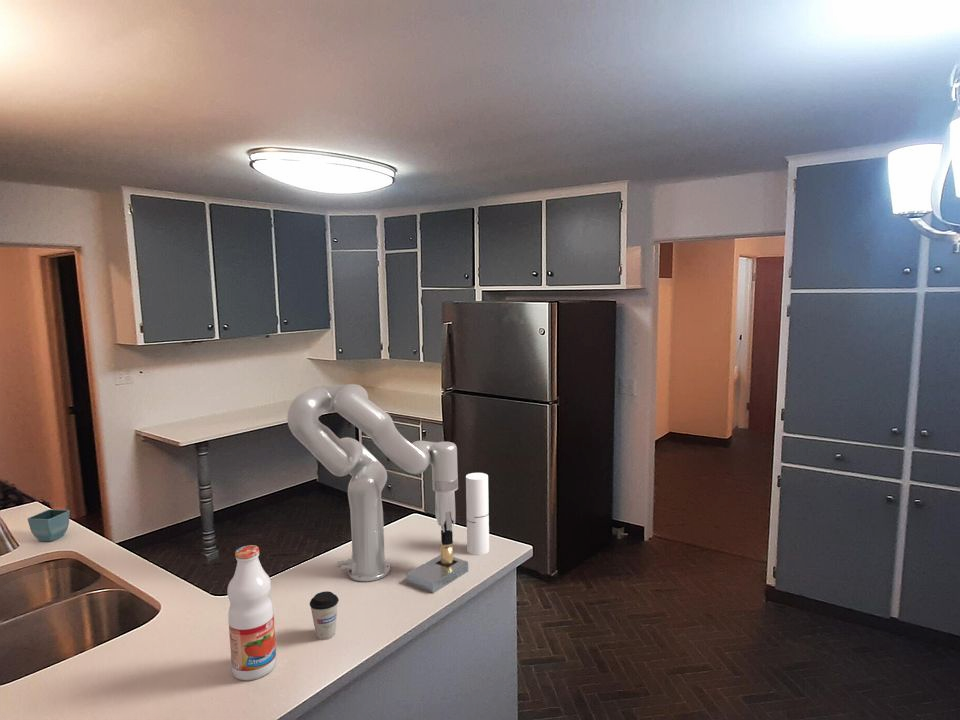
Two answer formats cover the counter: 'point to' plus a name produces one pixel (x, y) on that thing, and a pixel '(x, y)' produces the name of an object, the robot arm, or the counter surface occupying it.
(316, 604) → the coffee cup
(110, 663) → the counter surface
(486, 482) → the cylindrical container
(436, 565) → the jig plate
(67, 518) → the flower pot
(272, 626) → the fruit juice
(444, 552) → the tan cylindrical peg
